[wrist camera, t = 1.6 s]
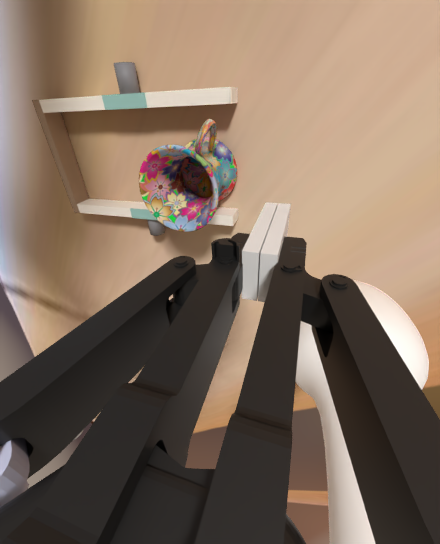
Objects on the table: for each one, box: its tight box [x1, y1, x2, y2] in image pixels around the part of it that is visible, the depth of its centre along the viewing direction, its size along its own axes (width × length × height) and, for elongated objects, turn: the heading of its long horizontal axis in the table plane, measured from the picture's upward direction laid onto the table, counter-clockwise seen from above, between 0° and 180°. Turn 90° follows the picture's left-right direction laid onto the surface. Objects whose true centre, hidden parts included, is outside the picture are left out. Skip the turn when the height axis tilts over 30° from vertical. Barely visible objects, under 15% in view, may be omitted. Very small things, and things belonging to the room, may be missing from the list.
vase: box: [295, 280, 429, 544], centre depth 28 cm, size 17×17×35 cm
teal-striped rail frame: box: [32, 62, 238, 236], centre depth 37 cm, size 22×28×3 cm
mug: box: [139, 119, 237, 232], centre depth 31 cm, size 12×9×11 cm
